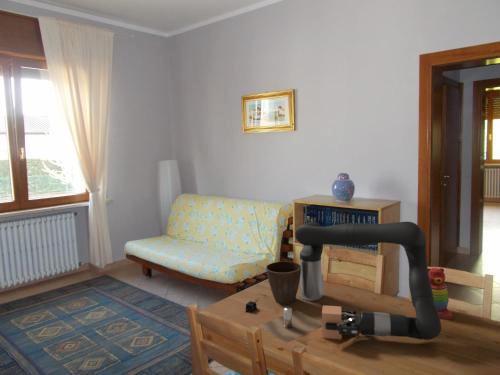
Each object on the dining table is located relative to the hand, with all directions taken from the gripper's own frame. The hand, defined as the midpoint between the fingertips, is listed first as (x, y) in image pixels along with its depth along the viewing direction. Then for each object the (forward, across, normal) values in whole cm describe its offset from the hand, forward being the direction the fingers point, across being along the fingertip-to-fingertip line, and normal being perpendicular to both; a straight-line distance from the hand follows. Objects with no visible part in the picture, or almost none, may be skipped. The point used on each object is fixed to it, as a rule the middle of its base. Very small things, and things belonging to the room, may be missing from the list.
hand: (326, 320), depth 134 cm
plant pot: (+19, -27, +6) cm, 33 cm away
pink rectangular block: (-2, 0, +6) cm, 6 cm away
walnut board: (+13, -4, +6) cm, 15 cm away
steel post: (+14, -3, +5) cm, 15 cm away
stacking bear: (-40, -25, +6) cm, 48 cm away
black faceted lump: (+31, -15, +7) cm, 35 cm away
